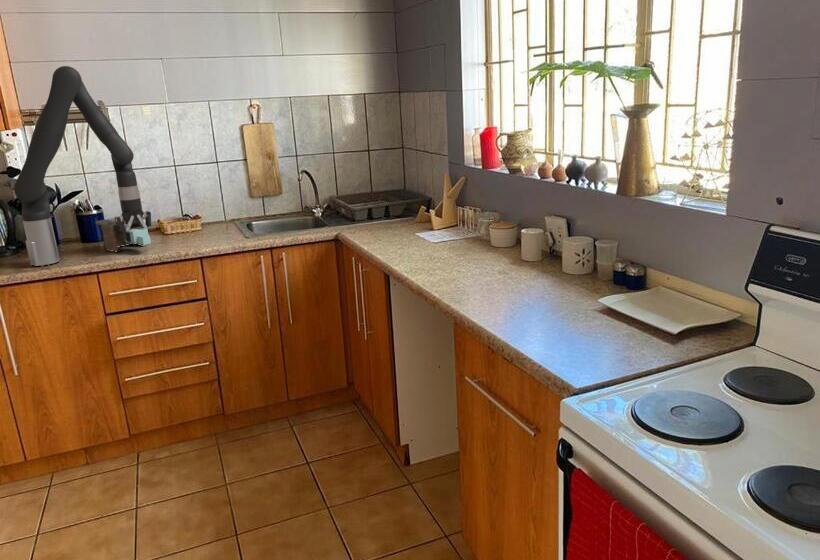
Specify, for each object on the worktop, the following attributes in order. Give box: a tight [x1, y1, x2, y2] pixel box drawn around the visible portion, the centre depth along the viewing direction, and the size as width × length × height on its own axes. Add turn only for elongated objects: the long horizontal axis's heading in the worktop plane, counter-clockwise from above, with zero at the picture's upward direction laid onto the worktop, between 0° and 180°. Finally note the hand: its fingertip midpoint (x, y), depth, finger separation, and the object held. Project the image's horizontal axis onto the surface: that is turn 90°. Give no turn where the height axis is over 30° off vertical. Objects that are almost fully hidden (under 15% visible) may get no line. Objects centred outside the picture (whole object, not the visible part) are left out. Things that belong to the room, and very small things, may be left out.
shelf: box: [94, 216, 145, 252], centre depth 267 cm, size 16×10×12 cm, turn 138°
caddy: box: [124, 227, 152, 246], centre depth 258 cm, size 12×6×5 cm, turn 48°
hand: (137, 239), depth 260 cm, fingers closed on caddy, 6 cm apart
